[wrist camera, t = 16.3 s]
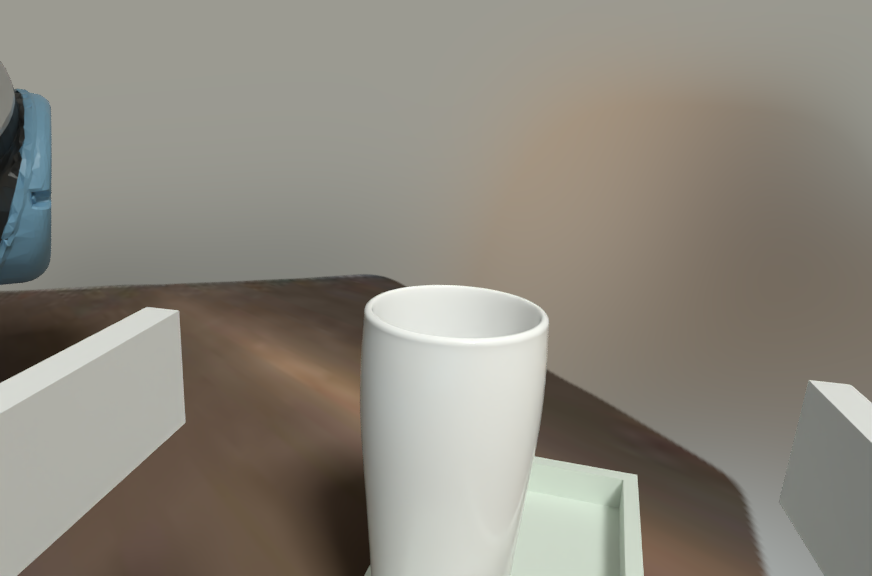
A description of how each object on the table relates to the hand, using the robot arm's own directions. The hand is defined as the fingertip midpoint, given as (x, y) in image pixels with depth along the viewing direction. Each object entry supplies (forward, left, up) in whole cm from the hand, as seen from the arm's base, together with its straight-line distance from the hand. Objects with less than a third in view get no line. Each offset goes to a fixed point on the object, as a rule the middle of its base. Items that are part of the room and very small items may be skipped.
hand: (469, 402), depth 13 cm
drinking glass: (-9, +2, -16) cm, 19 cm away
